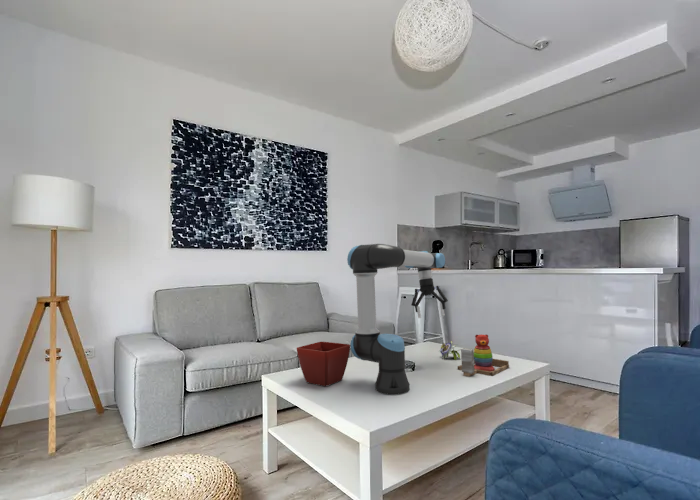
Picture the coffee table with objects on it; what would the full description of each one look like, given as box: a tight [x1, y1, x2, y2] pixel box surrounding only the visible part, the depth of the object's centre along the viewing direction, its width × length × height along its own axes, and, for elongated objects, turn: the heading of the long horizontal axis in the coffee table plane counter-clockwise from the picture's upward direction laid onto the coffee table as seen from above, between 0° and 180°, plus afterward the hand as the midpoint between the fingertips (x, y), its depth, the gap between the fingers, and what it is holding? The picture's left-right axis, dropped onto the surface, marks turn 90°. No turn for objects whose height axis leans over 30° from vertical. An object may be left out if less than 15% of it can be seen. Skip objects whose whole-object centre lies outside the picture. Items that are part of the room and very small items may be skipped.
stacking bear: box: [474, 334, 496, 372], centre depth 194 cm, size 11×10×18 cm
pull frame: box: [456, 347, 510, 377], centre depth 191 cm, size 28×18×12 cm, turn 135°
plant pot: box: [296, 341, 351, 387], centre depth 180 cm, size 19×19×17 cm
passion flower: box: [438, 340, 462, 361], centre depth 218 cm, size 11×11×12 cm
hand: (431, 316), depth 206 cm, fingers open, 13 cm apart
